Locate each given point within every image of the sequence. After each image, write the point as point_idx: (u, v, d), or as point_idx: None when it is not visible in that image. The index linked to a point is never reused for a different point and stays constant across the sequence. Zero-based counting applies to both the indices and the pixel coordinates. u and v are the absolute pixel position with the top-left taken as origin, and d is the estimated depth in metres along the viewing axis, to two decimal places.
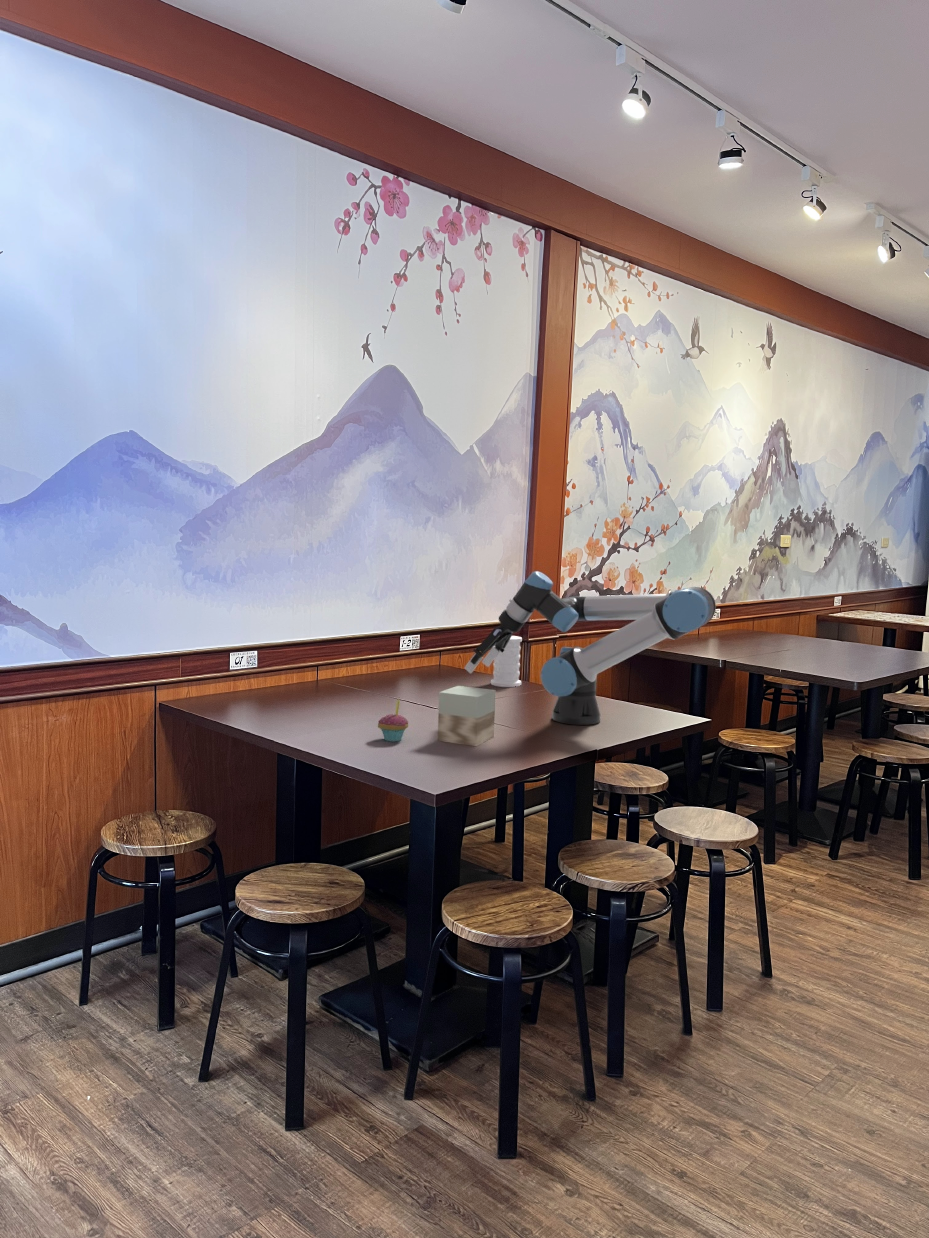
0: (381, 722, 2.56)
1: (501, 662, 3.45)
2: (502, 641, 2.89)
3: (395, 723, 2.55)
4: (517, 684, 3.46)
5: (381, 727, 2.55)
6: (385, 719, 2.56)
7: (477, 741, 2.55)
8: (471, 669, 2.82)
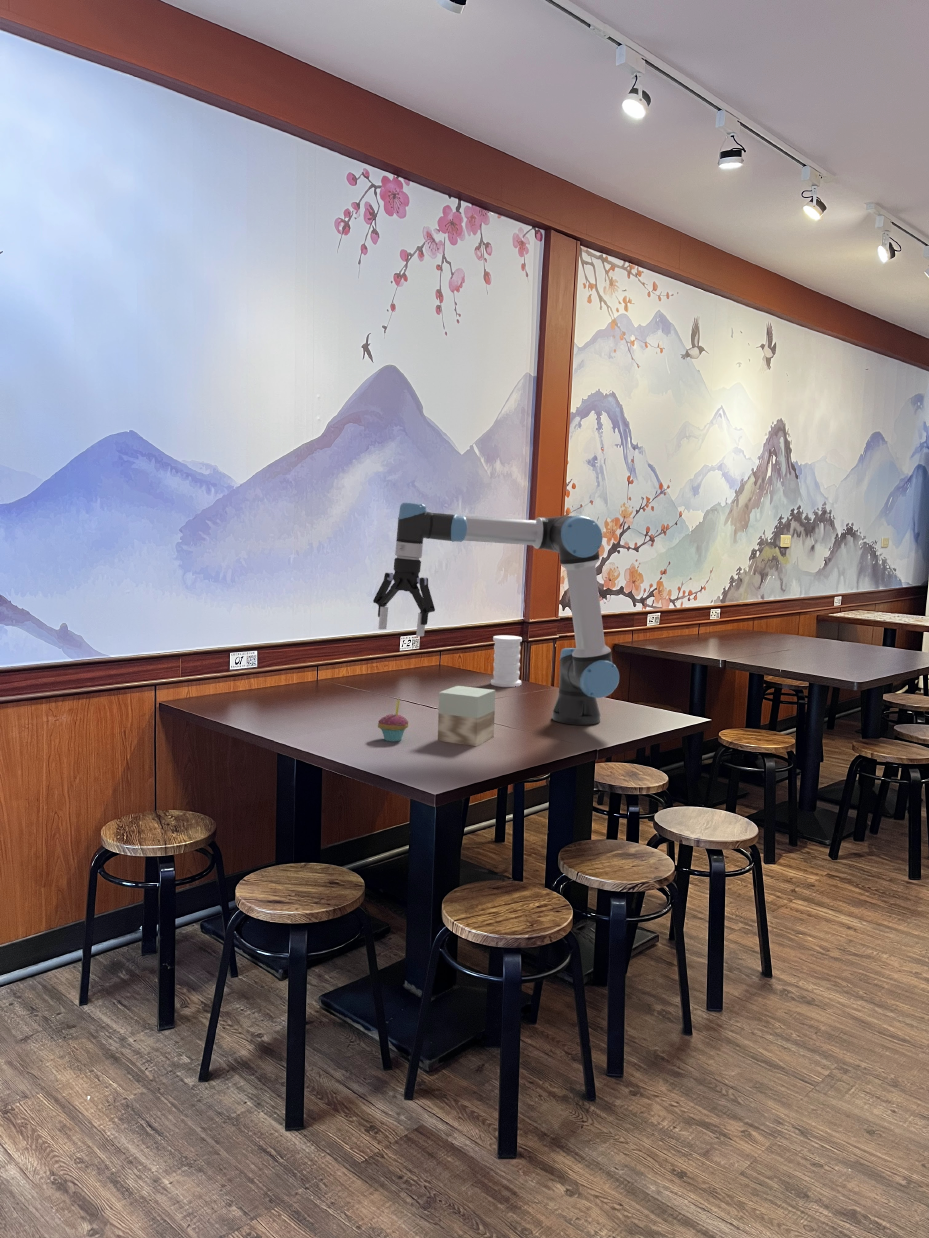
0: (381, 722, 2.56)
1: (501, 662, 3.45)
2: (395, 593, 2.63)
3: (395, 723, 2.55)
4: (517, 684, 3.46)
5: (381, 727, 2.55)
6: (385, 719, 2.56)
7: (477, 741, 2.55)
8: (423, 631, 2.58)
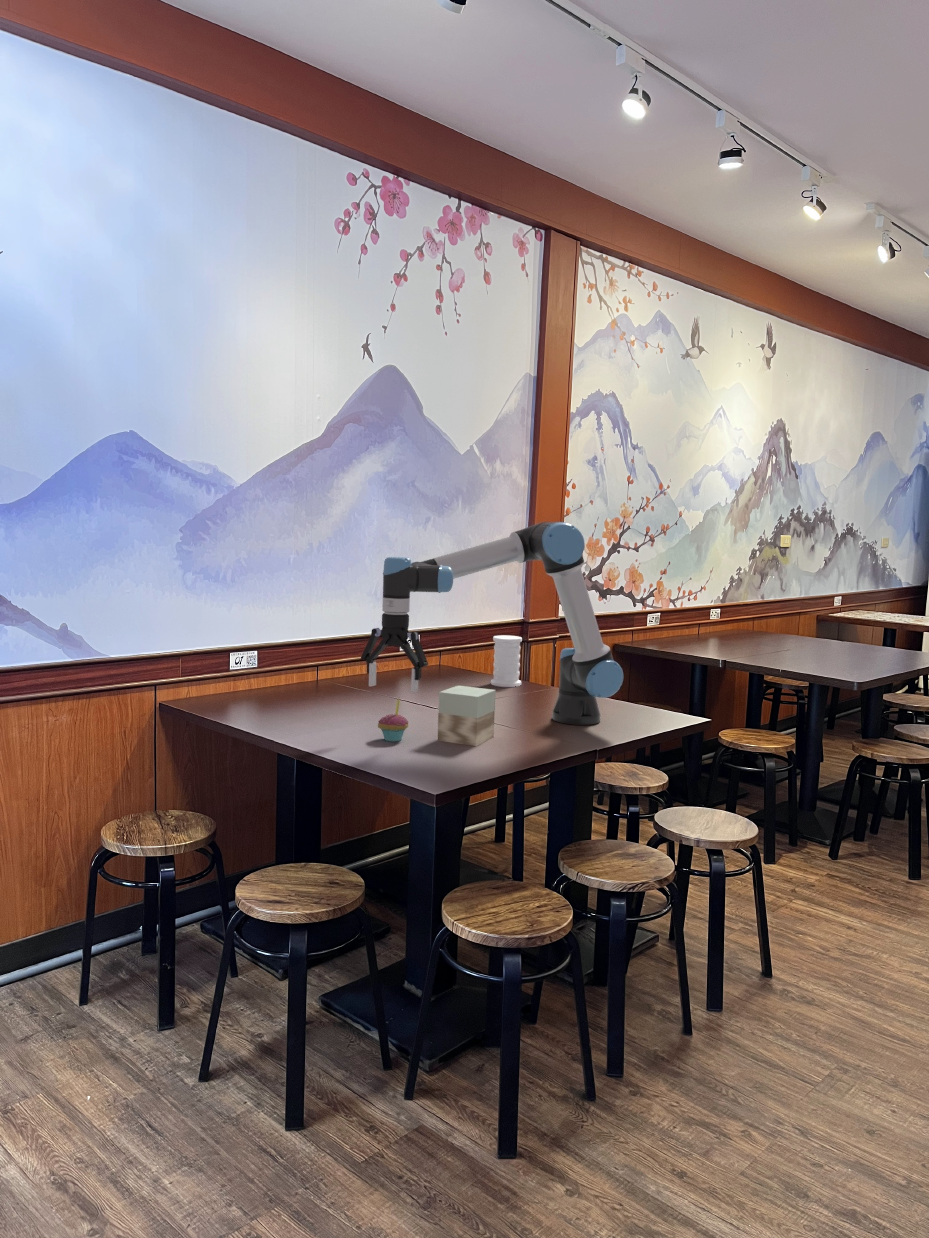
0: (381, 722, 2.56)
1: (501, 662, 3.45)
2: (383, 648, 2.58)
3: (395, 723, 2.55)
4: (517, 684, 3.46)
5: (381, 727, 2.55)
6: (385, 719, 2.56)
7: (477, 741, 2.55)
8: (417, 686, 2.55)
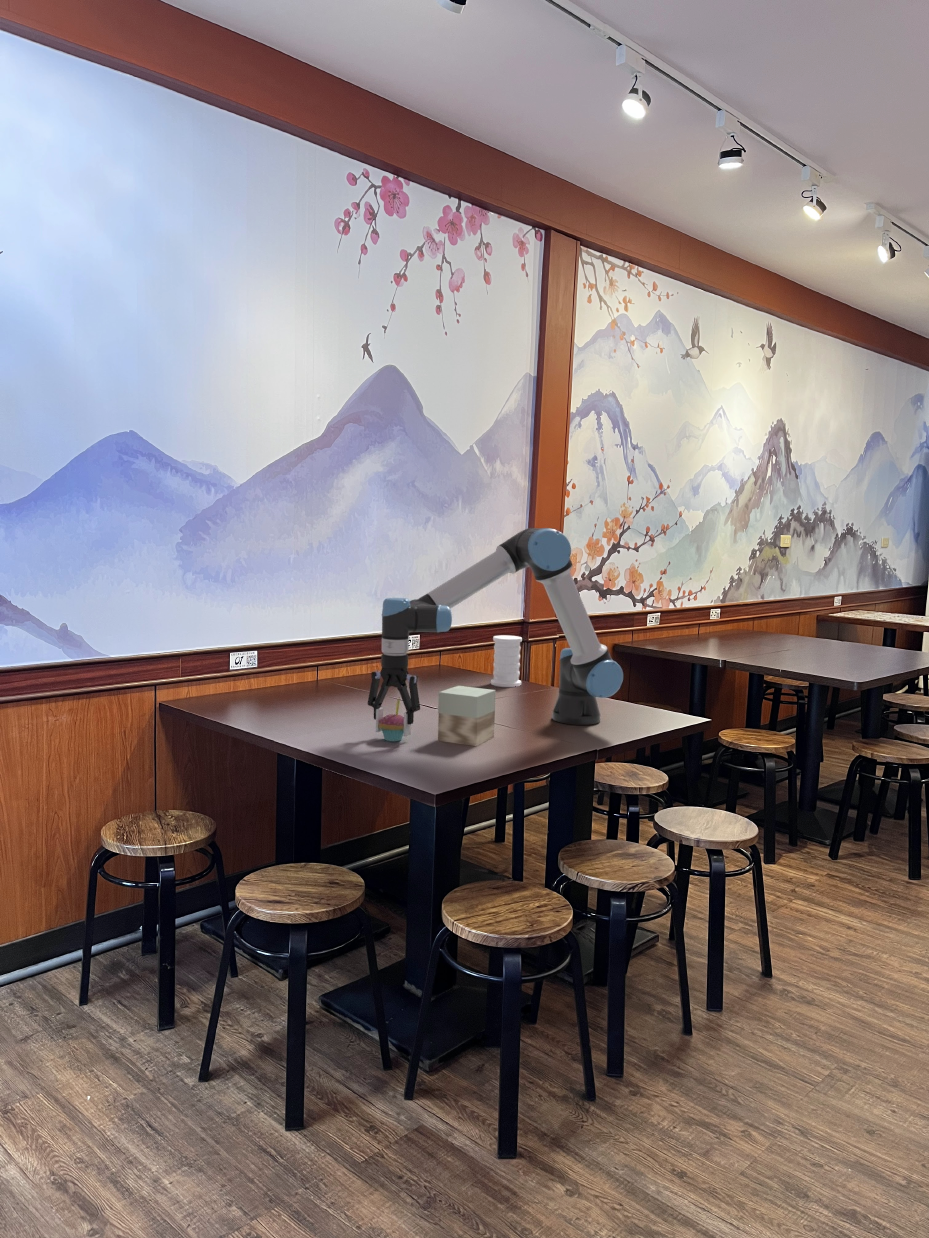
0: (381, 722, 2.56)
1: (501, 662, 3.45)
2: (387, 690, 2.59)
3: (396, 723, 2.55)
4: (517, 684, 3.46)
5: (381, 727, 2.55)
6: (385, 719, 2.56)
7: (477, 741, 2.55)
8: (409, 730, 2.57)
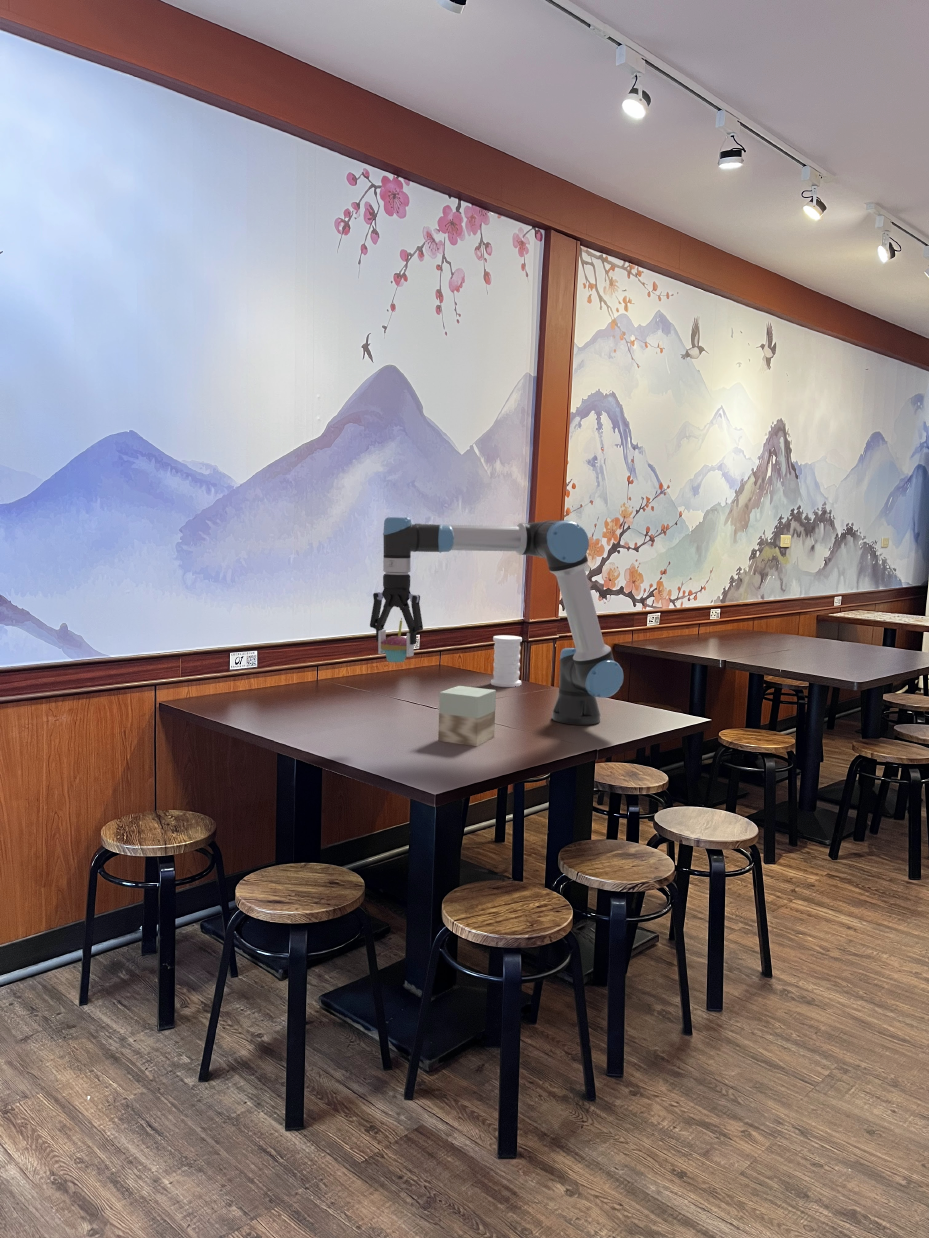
0: (384, 643, 2.53)
1: (501, 662, 3.45)
2: (389, 611, 2.57)
3: (398, 643, 2.52)
4: (517, 684, 3.46)
5: (384, 648, 2.53)
6: (388, 640, 2.53)
7: (478, 741, 2.55)
8: (412, 651, 2.55)
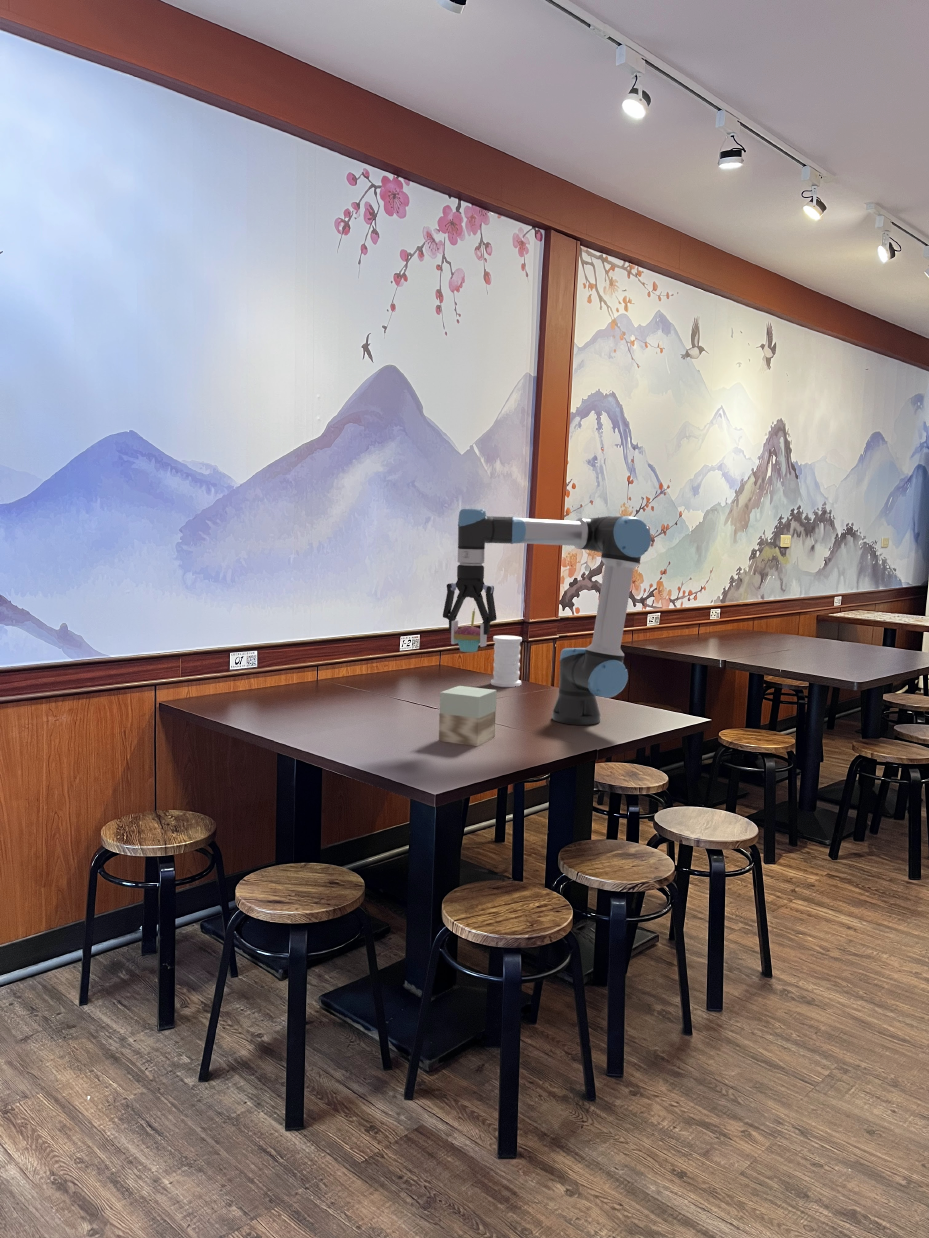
0: (457, 633, 2.57)
1: (501, 662, 3.45)
2: (462, 602, 2.60)
3: (472, 633, 2.55)
4: (517, 684, 3.46)
5: (458, 637, 2.56)
6: (461, 630, 2.57)
7: (478, 741, 2.55)
8: (485, 641, 2.58)
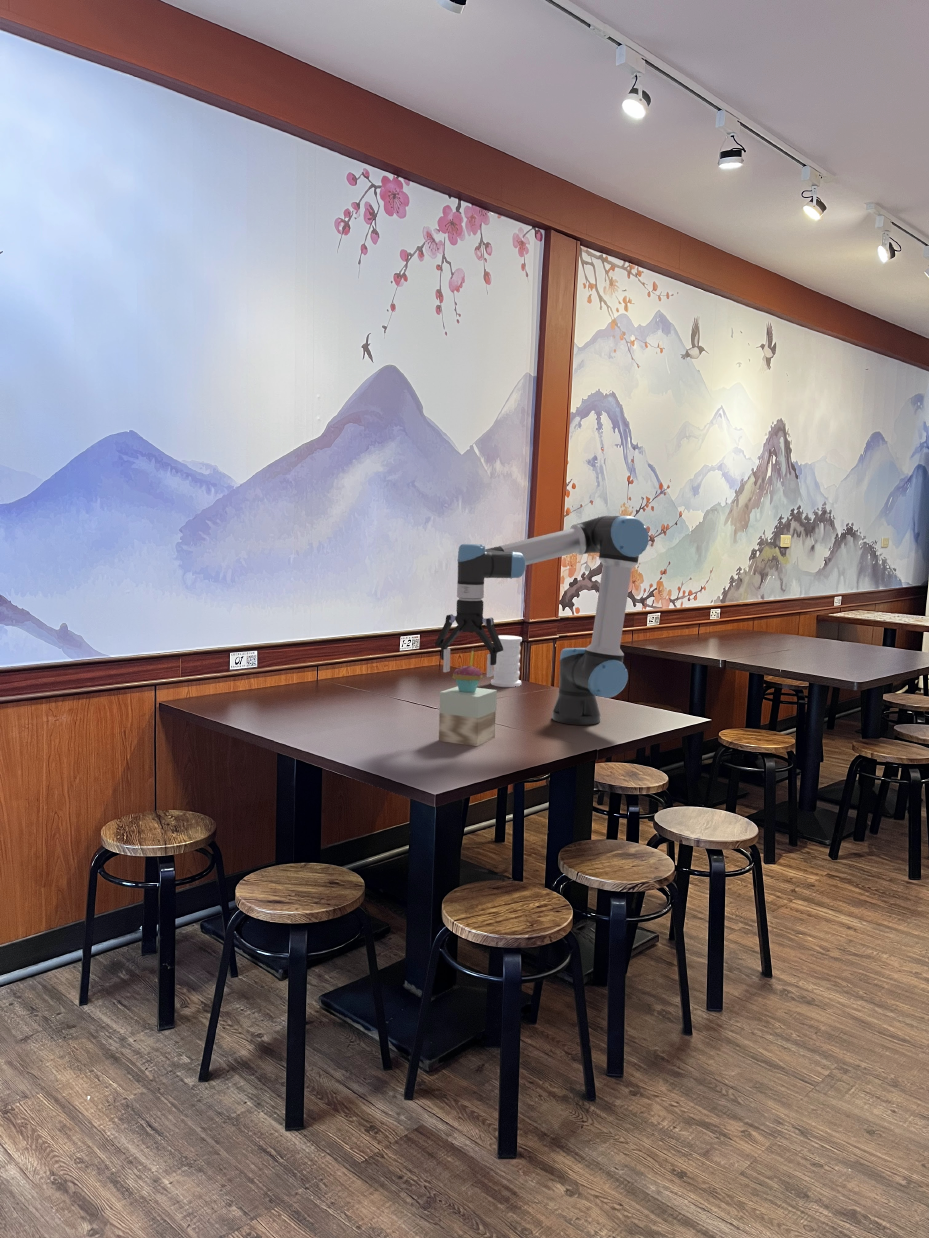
0: (456, 673, 2.58)
1: (501, 662, 3.45)
2: (458, 634, 2.61)
3: (471, 673, 2.57)
4: (517, 684, 3.46)
5: (456, 678, 2.57)
6: (460, 670, 2.58)
7: (478, 741, 2.55)
8: (492, 671, 2.58)
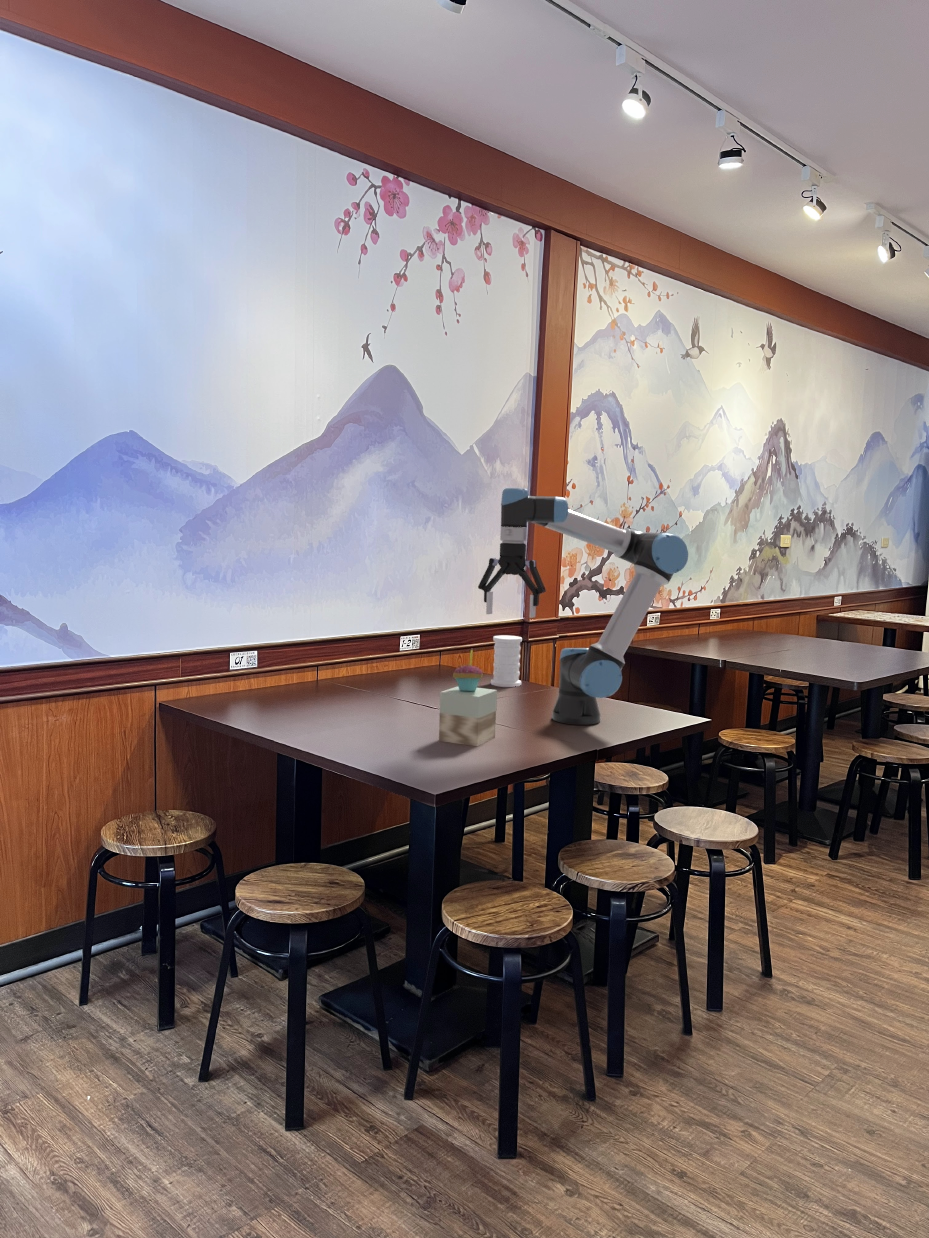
0: (458, 671, 2.58)
1: (501, 662, 3.45)
2: (500, 577, 2.68)
3: (473, 671, 2.57)
4: (517, 684, 3.46)
5: (459, 676, 2.57)
6: (462, 668, 2.58)
7: (478, 741, 2.55)
8: (534, 612, 2.65)
